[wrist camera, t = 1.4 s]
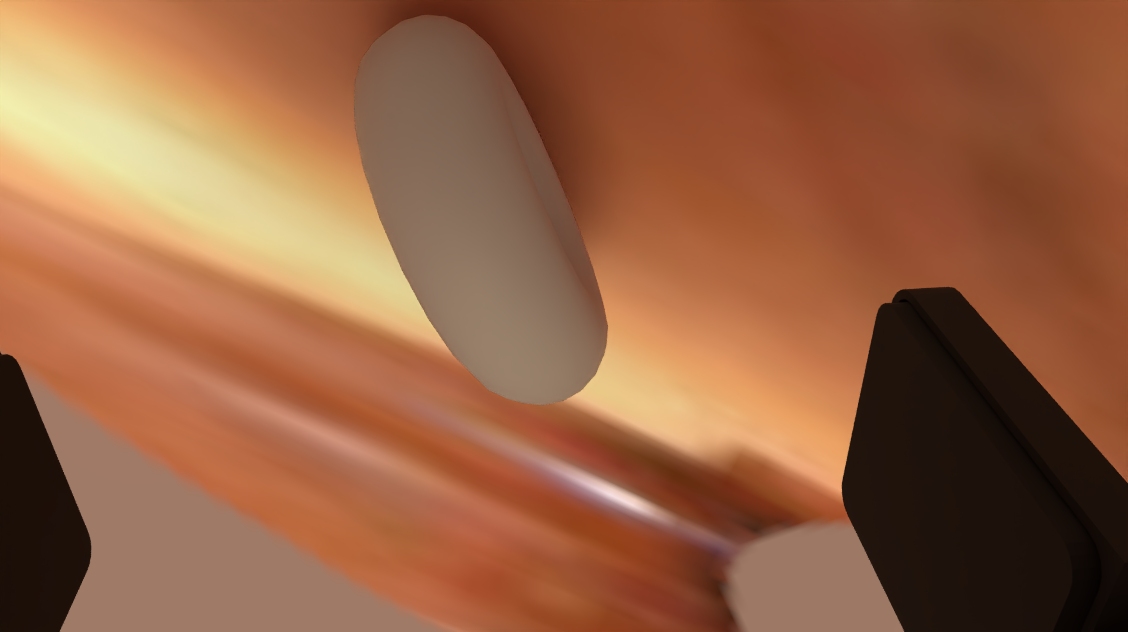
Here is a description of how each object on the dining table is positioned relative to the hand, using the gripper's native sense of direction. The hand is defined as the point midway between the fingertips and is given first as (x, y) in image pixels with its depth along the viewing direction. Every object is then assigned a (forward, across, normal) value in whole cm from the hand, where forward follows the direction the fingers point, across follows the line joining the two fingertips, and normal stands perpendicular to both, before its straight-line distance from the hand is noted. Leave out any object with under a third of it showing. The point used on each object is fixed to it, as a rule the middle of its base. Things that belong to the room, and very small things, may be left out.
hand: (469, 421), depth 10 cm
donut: (+18, 0, +4) cm, 18 cm away
